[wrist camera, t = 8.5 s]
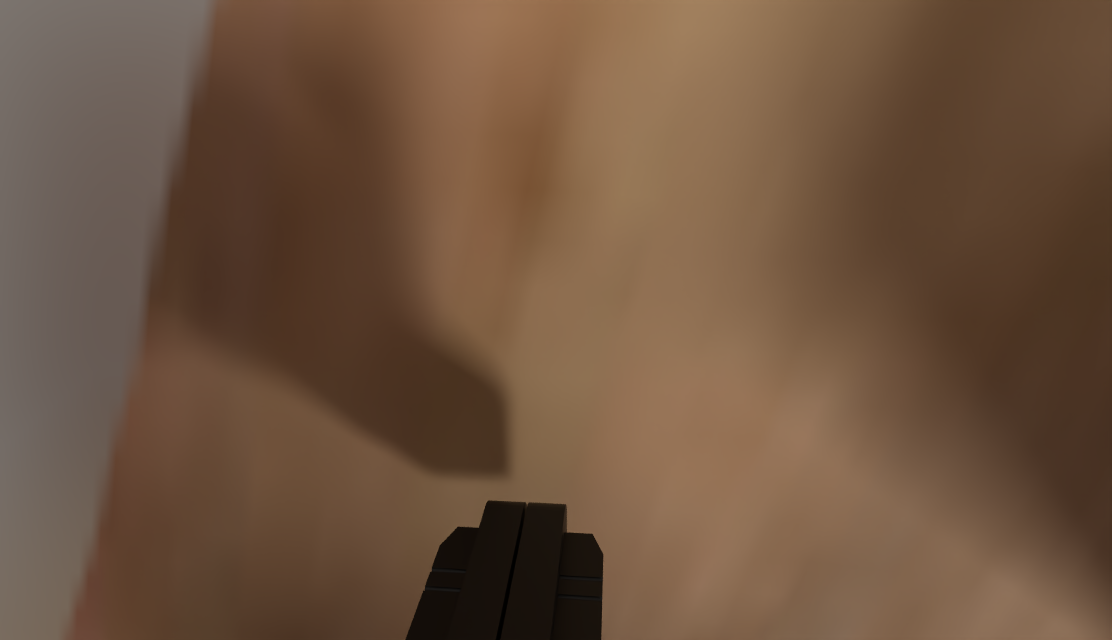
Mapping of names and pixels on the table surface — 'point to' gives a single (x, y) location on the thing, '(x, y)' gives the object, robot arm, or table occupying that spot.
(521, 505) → the robot arm
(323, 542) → the table surface
